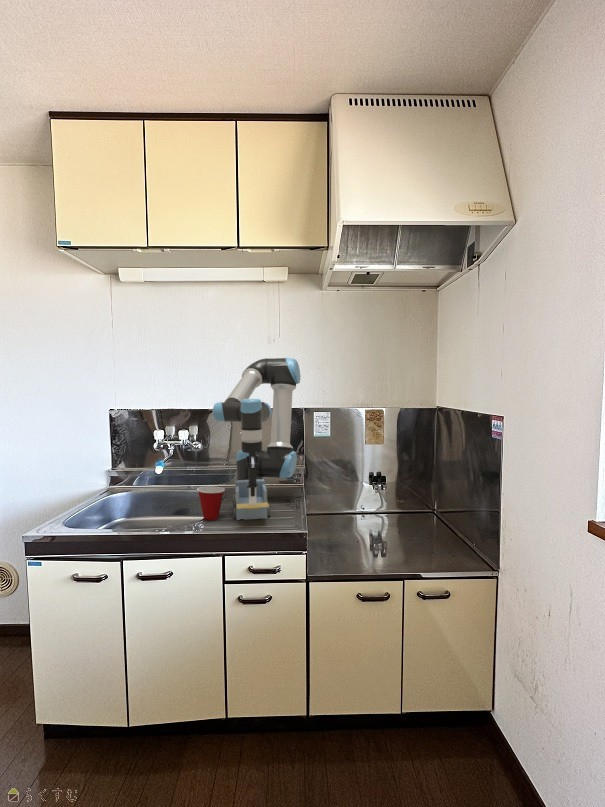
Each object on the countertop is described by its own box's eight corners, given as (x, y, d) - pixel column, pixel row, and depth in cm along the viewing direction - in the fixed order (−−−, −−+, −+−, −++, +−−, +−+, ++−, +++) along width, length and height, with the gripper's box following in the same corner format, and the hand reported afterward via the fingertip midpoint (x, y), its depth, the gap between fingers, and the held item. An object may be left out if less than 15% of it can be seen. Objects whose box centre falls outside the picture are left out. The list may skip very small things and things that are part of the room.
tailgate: (236, 503, 181) (237, 505, 172) (266, 502, 183) (268, 504, 174) (236, 508, 181) (237, 510, 172) (266, 506, 183) (268, 508, 174)
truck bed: (232, 509, 196) (232, 480, 195) (267, 507, 198) (266, 478, 197) (233, 520, 182) (232, 488, 181) (270, 517, 184) (269, 486, 184)
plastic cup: (230, 519, 183) (229, 489, 182) (203, 524, 178) (202, 493, 177) (219, 512, 192) (218, 483, 192) (193, 517, 187) (193, 487, 186)
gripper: (240, 438, 178) (242, 500, 180) (241, 444, 166) (243, 509, 167) (260, 438, 179) (261, 499, 181) (263, 443, 167) (264, 508, 168)
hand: (252, 504), depth 174 cm, fingers closed
